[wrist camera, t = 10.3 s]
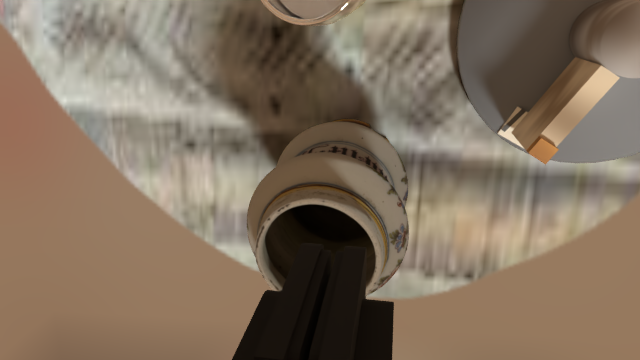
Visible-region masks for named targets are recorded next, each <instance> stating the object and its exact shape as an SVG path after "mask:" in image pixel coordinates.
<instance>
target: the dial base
mask: <svg viewBox="0 0 640 360" xmlns="http://www.w3.org/2000/svg"><path fill="white" fill-rule="evenodd" d="M600 1H604V0H464V3H463V7H462V11H461V14H460V18H459V24H458V32H457V60H458V68H459V73H460V76H461V80H462V83H463V86H464V89H465V91H466V93H467V96H468V98H469V100H470V102H471V103H472V105H473V106H474V108H475V110H476V111H477V113H478V114H479V116H480V117H481V118H482V119H483V121H484V122H485V123H486V124H487V125H488V127H489V128H490V129H491V130H493V131H494V132H495V133H496V134H497V135H498V136H499V137H500V138H502V139H503V140H505V141H506V142H508V143H509V144H511V145H512V146H514V147H516V148H518V149H520V150H522V151H524V152H526V153H528V152H527V151H526V150H525V149H524V147H523V146H522V145H521V144H520V143H519V141H518V140H517V139H516V138H515V137H514V135H513V134H512V133H511V132H512V131H513V130H514V129H515V127H516V126H517V125H518V124H519V123H520V122H521V120H522V119H523V118H524V117H525V116H526V114H527V113H528V112H529V111H530V110H531V109H532V107H533V106H534V105H535V104H536V103H537V102H538V100H539V99H540V98H541V97H542V96H543V94H544V93H545V92H546V91H547V90H548V89H549V87H550V86H551V85H552V84H553V83H554V82H555V80H556V79H557V78H558V77H559V76H560V74H561V73H562V72H563V71H564V70H565V69H566V67H567V66H568V65H569V64H570V63H571V61H572V60H573V59H574V58H575V56H574V55H573V53H572V51H571V49H570V44H569V35H570V31H571V28H572V25H573V23H574V22H575V20H576V19H577V17H578V16H579V15H580V14H581V13H582V12H583V11H584V10H585V9H587V8H588V7H589V6H591V5H593V4H595V3H597V2H600ZM615 75H616V74H615ZM617 76H618V77H619V79H618V81H617V82H616V83H615V84H614V85H613V86H612V87H611V88H610V89H609V90H608V91H607V93H606V94H605V95H604V96H603V97H602V98H601V99H600V100H599V101H598V102H597V103H596V105H595V106H594V107H593V108H592V109H591V110H590V111H589V112H588V113H587V114H586V115H585V117H584V118H583V119H582V120H581V121H580V122H579V123H578V124H577V125H576V126H575V127H574V128H573V130H572V131H571V132H570V133H569V134H568V135H567V136H566V137H565V138H564V139H563V140H562V142H561V143H560V144H559V145H558V146H557V148H558V149H559V150H558V151H557V152H556V153H555V154H554V156H553V157H552V158H551V159H550V160H553V161H558V162H568V163H596V162H603V161H609V160H615V159H619V158H623V157H627V156H630V155H634V154H636V153H639V152H640V78H626V77H622V76H619V75H617ZM528 154H529V153H528Z"/></svg>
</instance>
